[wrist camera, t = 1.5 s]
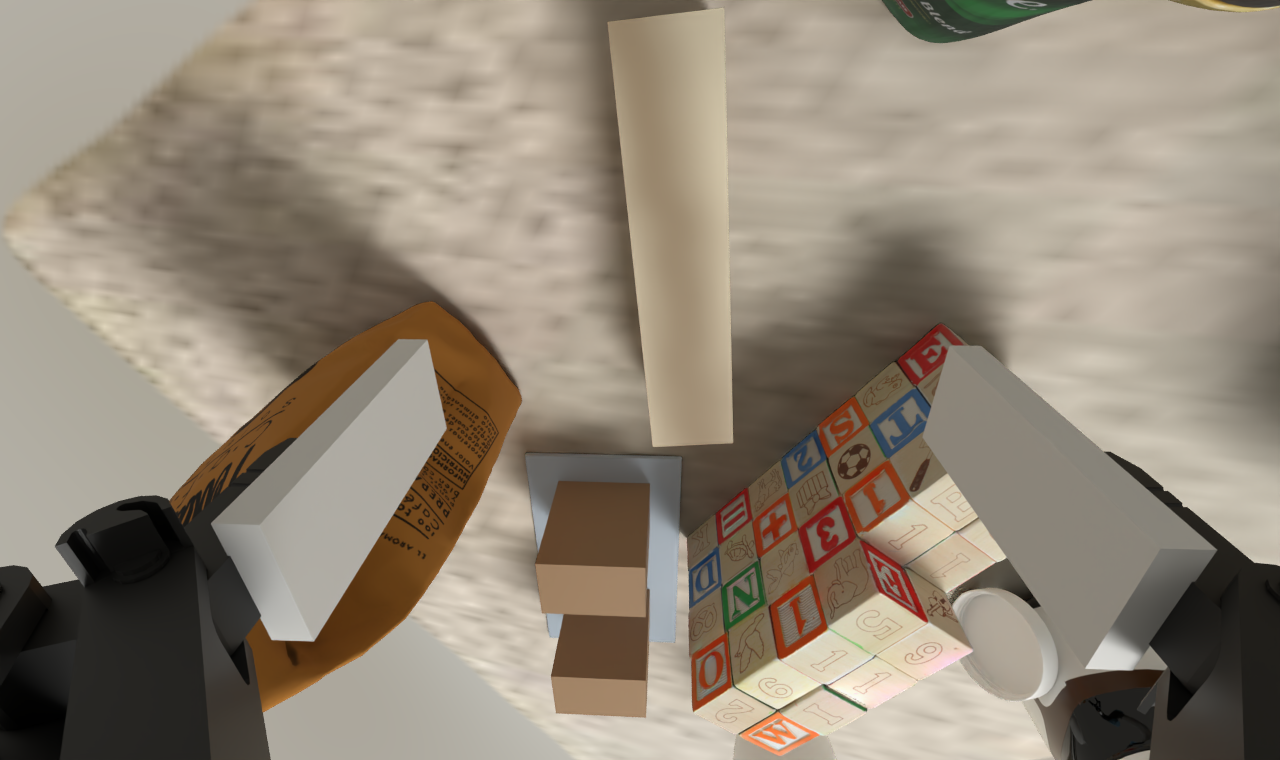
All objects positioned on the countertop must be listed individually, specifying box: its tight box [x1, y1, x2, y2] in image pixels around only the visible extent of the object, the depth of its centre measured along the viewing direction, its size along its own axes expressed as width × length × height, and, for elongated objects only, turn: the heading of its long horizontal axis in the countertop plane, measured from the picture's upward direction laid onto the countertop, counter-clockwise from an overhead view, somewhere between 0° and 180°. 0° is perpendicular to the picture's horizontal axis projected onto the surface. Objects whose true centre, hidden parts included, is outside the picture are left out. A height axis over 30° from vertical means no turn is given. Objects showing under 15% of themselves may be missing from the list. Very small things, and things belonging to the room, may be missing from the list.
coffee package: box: [169, 301, 522, 712], centre depth 24 cm, size 10×12×22 cm
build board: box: [525, 453, 682, 717], centre depth 36 cm, size 10×18×7 cm, turn 0°
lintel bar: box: [607, 8, 733, 447], centre depth 26 cm, size 4×18×6 cm, turn 6°
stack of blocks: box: [687, 323, 1007, 756], centre depth 29 cm, size 21×6×12 cm, turn 143°
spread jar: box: [952, 588, 1168, 760], centre depth 35 cm, size 12×11×12 cm
